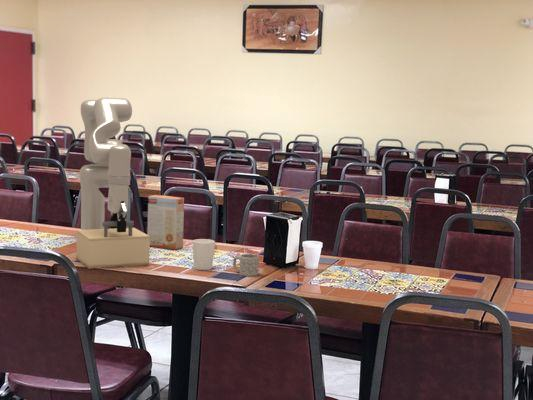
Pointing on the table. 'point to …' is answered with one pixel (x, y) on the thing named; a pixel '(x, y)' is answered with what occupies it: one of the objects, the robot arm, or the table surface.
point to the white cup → (203, 254)
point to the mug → (247, 264)
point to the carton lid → (112, 232)
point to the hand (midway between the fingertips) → (118, 229)
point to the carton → (112, 252)
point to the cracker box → (165, 221)
